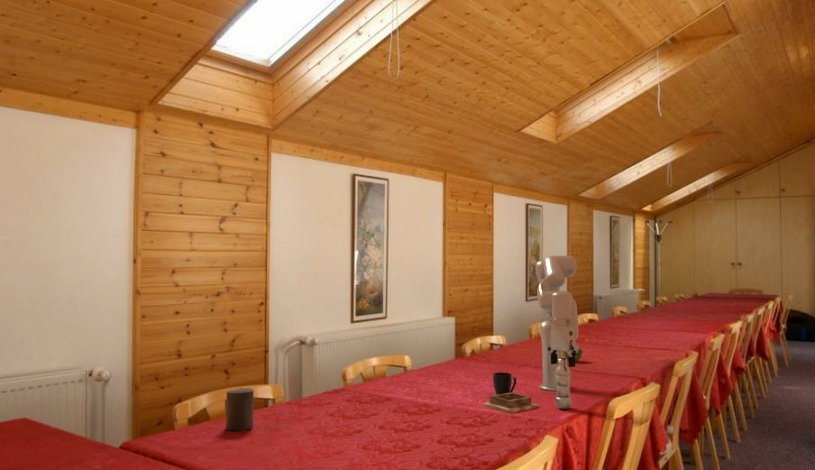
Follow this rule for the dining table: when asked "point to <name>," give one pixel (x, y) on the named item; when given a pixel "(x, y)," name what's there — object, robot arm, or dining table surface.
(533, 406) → the bottle stand
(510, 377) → the mug
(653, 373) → the dining table surface
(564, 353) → the apple
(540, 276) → the robot arm
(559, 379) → the plastic bottle
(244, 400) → the dark grey cylinder
